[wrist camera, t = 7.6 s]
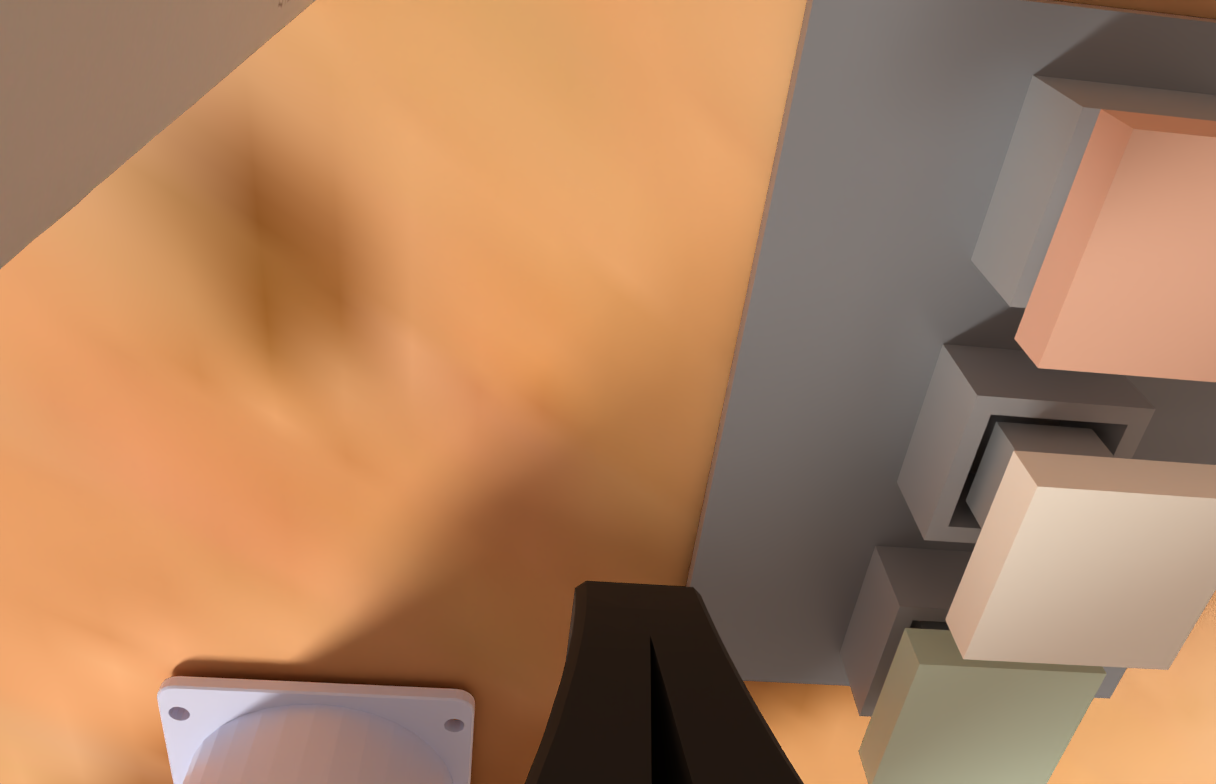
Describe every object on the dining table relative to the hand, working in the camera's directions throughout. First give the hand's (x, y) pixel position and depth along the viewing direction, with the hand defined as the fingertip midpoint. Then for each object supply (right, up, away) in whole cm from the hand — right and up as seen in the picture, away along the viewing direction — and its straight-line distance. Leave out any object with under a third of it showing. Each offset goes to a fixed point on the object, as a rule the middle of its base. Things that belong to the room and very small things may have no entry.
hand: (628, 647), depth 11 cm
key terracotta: (+9, +7, +7) cm, 13 cm away
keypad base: (+8, +2, +11) cm, 14 cm away
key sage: (+8, -3, +13) cm, 15 cm away
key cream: (+8, +1, +9) cm, 12 cm away
